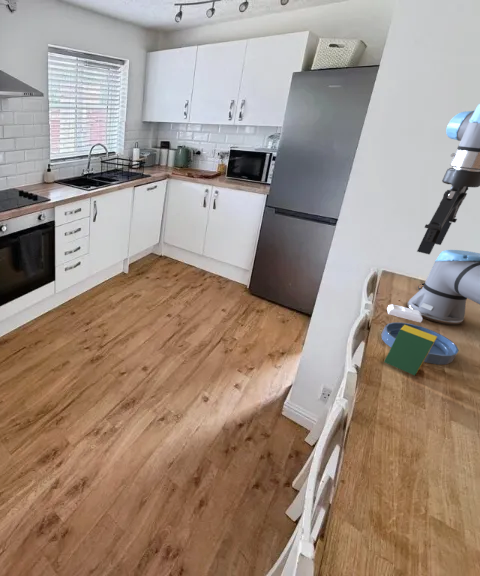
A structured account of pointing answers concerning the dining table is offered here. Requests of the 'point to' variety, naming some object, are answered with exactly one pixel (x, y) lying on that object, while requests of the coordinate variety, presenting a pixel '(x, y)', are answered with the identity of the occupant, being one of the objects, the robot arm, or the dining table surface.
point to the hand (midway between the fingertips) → (429, 248)
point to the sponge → (410, 349)
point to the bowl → (439, 352)
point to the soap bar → (405, 313)
